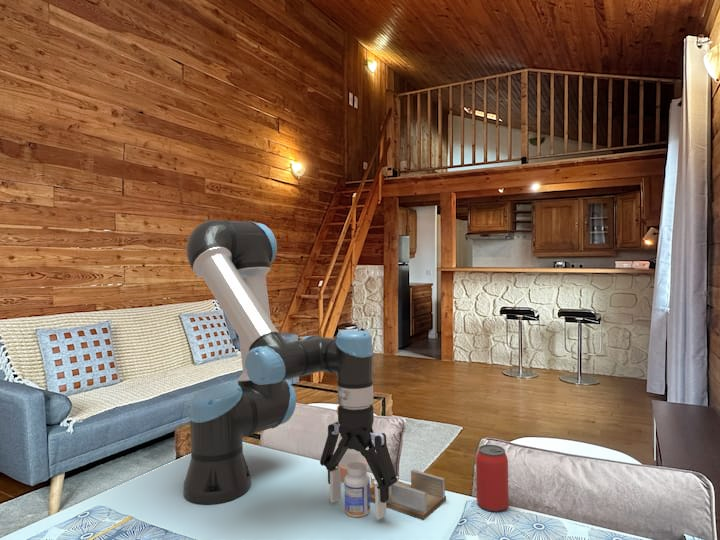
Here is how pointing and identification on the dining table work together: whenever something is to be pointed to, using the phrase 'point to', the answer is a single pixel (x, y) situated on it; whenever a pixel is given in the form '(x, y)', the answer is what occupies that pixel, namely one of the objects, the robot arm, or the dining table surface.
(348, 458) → the pepper shaker
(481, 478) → the beer can
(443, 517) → the dining table surface
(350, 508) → the pill bottle
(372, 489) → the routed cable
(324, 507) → the dining table surface
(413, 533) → the dining table surface
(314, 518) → the dining table surface
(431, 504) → the board
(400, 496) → the end holder
